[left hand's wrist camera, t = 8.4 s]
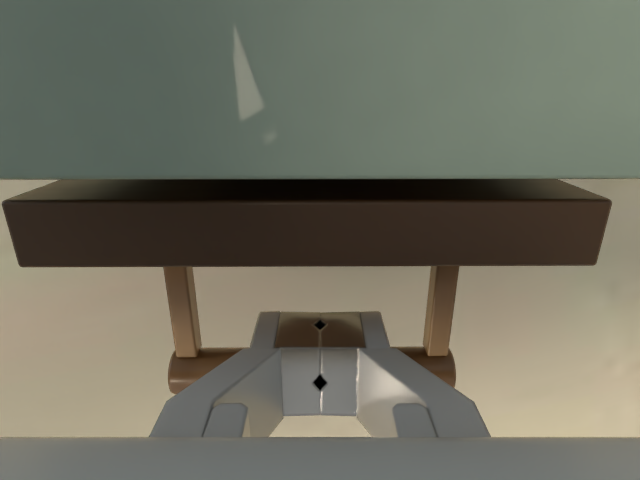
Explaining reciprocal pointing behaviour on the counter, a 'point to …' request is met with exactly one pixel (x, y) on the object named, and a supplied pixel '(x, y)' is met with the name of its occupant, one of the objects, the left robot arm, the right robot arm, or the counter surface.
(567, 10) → the cabinet
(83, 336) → the counter surface
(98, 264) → the drawer
